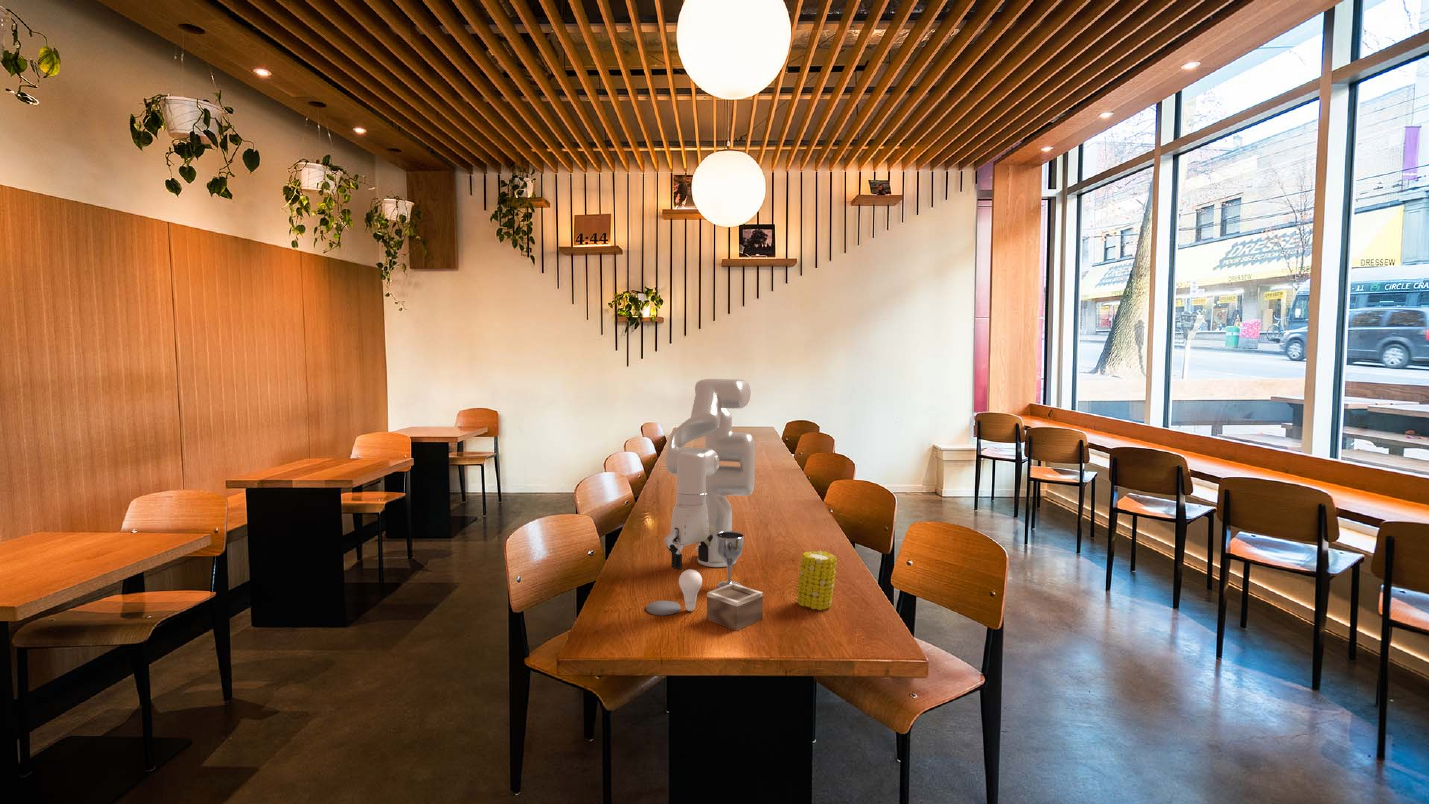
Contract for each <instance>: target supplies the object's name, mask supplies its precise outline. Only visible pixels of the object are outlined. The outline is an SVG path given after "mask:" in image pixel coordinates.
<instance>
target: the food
mask: <svg viewBox="0 0 1429 804" xmlns="http://www.w3.org/2000/svg"><path fill="white" fill-rule="evenodd" d="M800 560H801V562H800V564H801V565H799V567H800V570H799V574H798V583H797V584H798V587H797V595H796V597H797V599H796V602H797V604H798V605H799V606H801V607H806V608H810V609H812V610H818V611H822V610H823V611H825V610H826V609H830V607H831V606H832V603H833V595H834V587H835V581H836V579H835V578H836V574H837V571H836V570H837V564H838V563H837V561H838V558H837V557H836V556H835V555H834V554H832V553H829V552H828V551H825V550H824V551H822V550H817V551H815V550H811V551H805V552H802V554H801V559H800Z"/></svg>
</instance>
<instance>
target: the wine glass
mask: <svg viewBox="0 0 1429 804" xmlns="http://www.w3.org/2000/svg"><path fill="white" fill-rule="evenodd" d="M744 538H745V537H744V534H743V533H742V532H739V531H734V530H732V531H725V532H719V533H717V534H716V544H717V550H718V553H719V555H720V557H721V558H722V559H723V560H724V561H725V563H726V565H727V566H726V568H727V581H721V582H718V583H717V585H716V587H717V588H721V587H724V586H726V585H729V584H732V583H735V584H738V585H741V586H742V584H741V583H740V582H738V581H733V580H732V579H731V577H732V576H731V575H732V570H733V569H732V568H733V565H734V564H733V563H734V562H735V561H736V562H737V560H738V558H739V557H741V555H742V552H743V549H744V548H743V547H744V541H745V540H744Z"/></svg>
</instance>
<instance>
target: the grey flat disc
mask: <svg viewBox="0 0 1429 804" xmlns="http://www.w3.org/2000/svg"><path fill="white" fill-rule="evenodd" d="M645 610H646V612H647V613H648V614H651V615H653V616H661V617H664V616H671V615H675V614H677V613H679V612H680V611H681V604H679V602H676V601H672V600H657V601H656V600H655V601H651V602H649V603H648V604H646V606H645Z"/></svg>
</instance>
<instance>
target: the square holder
mask: <svg viewBox="0 0 1429 804" xmlns="http://www.w3.org/2000/svg"><path fill="white" fill-rule="evenodd" d="M763 601H764V592H763V591H759V590H756V589H753V588H750V587H746V586H744V585H742V584H741V585H738V584H735V583H732V584H729V585H726V586H724V587H721V588H719V587H717V588H715V589H713V590H710V591H708V592H707V593H706V620H707V621H710V622H713V623H715V624H716V625H717V624H718V625H721V626H723V627H726V628H729V629H731V630H733V631H736V632H738V631H739V630H741V629H744V628H747V627H749V626H751V625H753V624H755V623H757V622H760V621H762V620H763V617H764V616H763V615H764V614H763V613H764V611H763V610H764V609H763V606H764V605H763V604H764V602H763Z"/></svg>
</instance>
